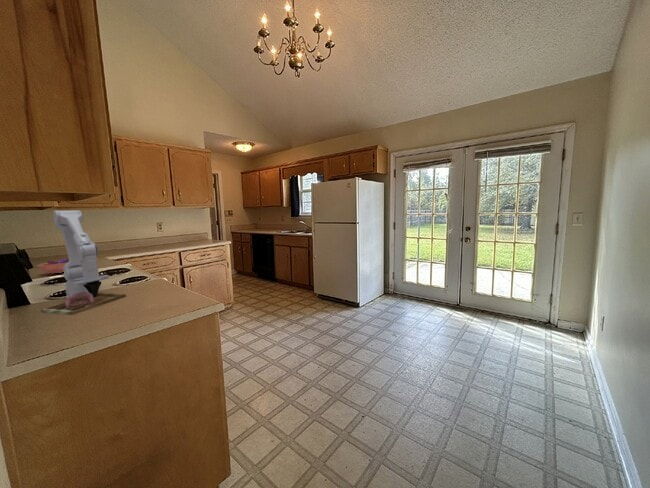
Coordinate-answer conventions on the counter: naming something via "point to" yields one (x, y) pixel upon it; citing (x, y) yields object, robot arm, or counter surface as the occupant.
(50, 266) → the cell model
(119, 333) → the counter surface
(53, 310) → the shallow wooden tray
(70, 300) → the video game controller
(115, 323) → the counter surface
